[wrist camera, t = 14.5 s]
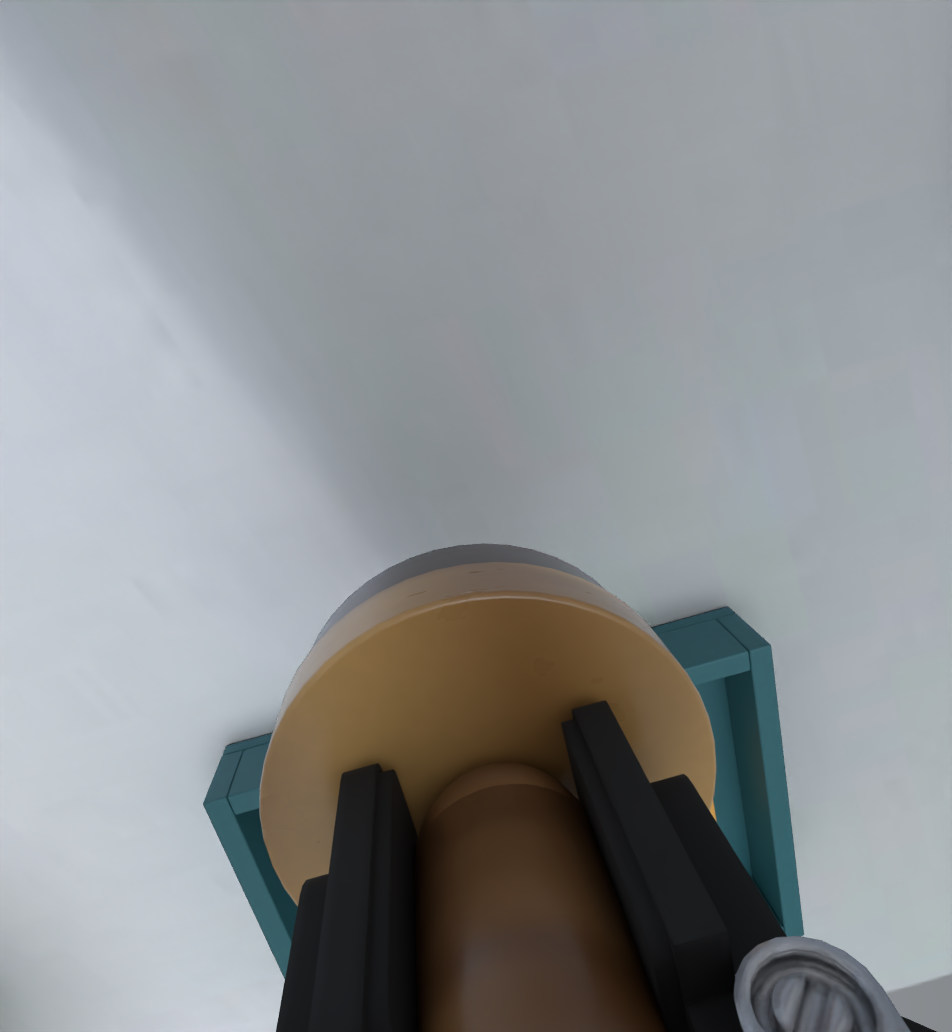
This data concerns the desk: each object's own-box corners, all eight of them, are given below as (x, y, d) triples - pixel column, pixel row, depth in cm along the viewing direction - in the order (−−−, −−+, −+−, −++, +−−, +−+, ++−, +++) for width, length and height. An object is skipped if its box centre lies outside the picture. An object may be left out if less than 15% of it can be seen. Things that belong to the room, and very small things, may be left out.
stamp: (349, 895, 14) (238, 2198, 4) (232, 589, 12) (-547, 1878, 2) (679, 804, 14) (1271, 1849, 5) (625, 488, 12) (1562, 1217, 2)
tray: (336, 998, 29) (329, 1076, 26) (225, 745, 25) (202, 804, 22) (764, 873, 30) (805, 935, 27) (728, 605, 25) (771, 644, 22)
